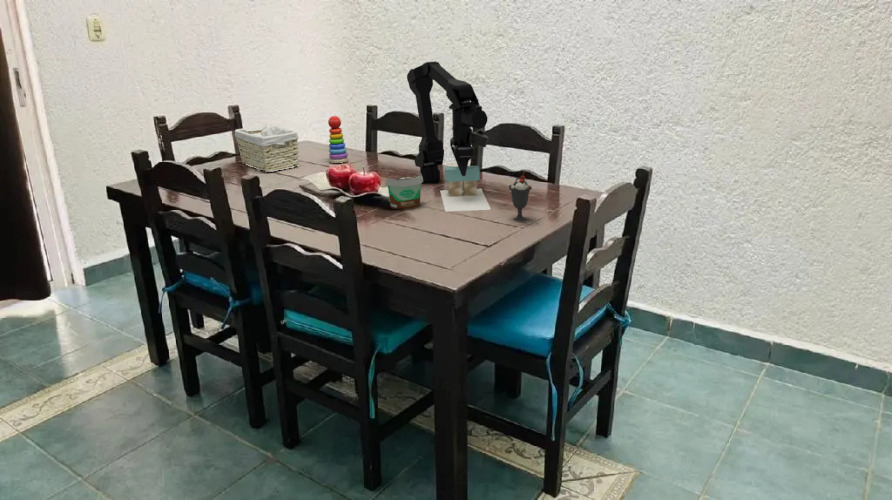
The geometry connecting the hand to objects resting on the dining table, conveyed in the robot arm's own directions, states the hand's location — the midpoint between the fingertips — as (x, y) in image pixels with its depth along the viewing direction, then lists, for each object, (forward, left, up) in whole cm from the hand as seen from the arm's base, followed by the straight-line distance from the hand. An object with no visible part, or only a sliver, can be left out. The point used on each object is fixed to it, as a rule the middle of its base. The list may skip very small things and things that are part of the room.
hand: (462, 172), depth 213 cm
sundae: (+14, -28, -8) cm, 33 cm away
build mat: (0, -6, -8) cm, 10 cm away
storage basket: (-72, +54, -8) cm, 90 cm away
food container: (-18, -11, -8) cm, 23 cm away
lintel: (0, 0, -2) cm, 2 cm away
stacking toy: (-45, +57, -8) cm, 73 cm away
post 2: (+2, 0, -7) cm, 8 cm away
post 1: (-3, 0, -8) cm, 8 cm away
